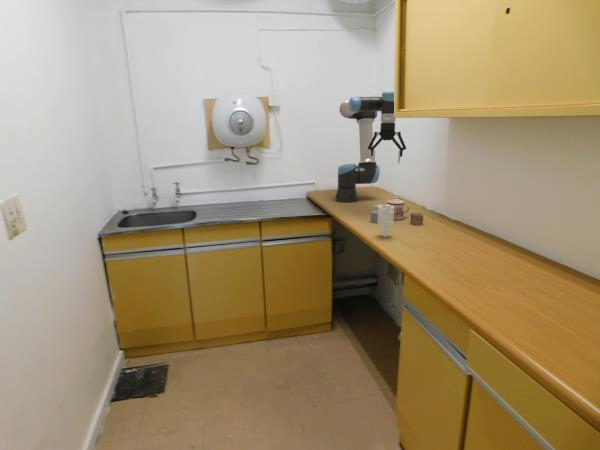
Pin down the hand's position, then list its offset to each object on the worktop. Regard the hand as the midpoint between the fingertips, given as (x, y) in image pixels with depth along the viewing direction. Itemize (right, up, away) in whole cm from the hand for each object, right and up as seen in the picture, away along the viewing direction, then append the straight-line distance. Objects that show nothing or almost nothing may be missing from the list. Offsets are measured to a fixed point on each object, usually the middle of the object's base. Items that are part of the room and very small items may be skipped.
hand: (386, 162), depth 204 cm
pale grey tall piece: (-8, -39, -33) cm, 52 cm away
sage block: (-3, -28, +6) cm, 29 cm away
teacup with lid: (+6, -31, -3) cm, 31 cm away
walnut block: (+12, -34, -14) cm, 38 cm away
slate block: (-7, -32, -9) cm, 34 cm away
